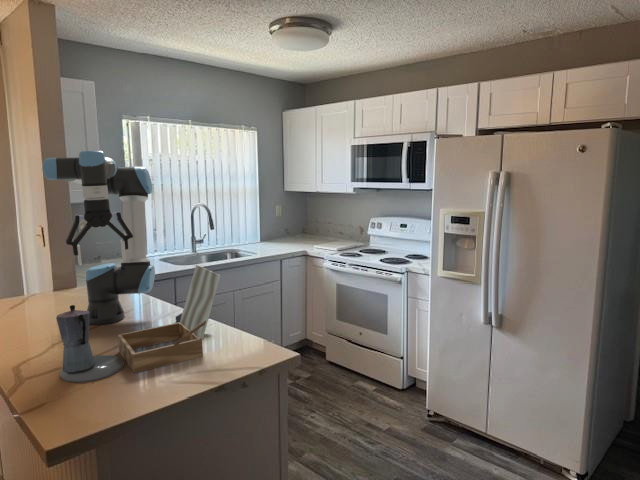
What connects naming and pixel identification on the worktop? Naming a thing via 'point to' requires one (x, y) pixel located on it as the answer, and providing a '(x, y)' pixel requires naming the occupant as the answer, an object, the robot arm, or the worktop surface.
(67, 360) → the moka pot
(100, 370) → the disc
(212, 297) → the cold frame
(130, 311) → the worktop surface
